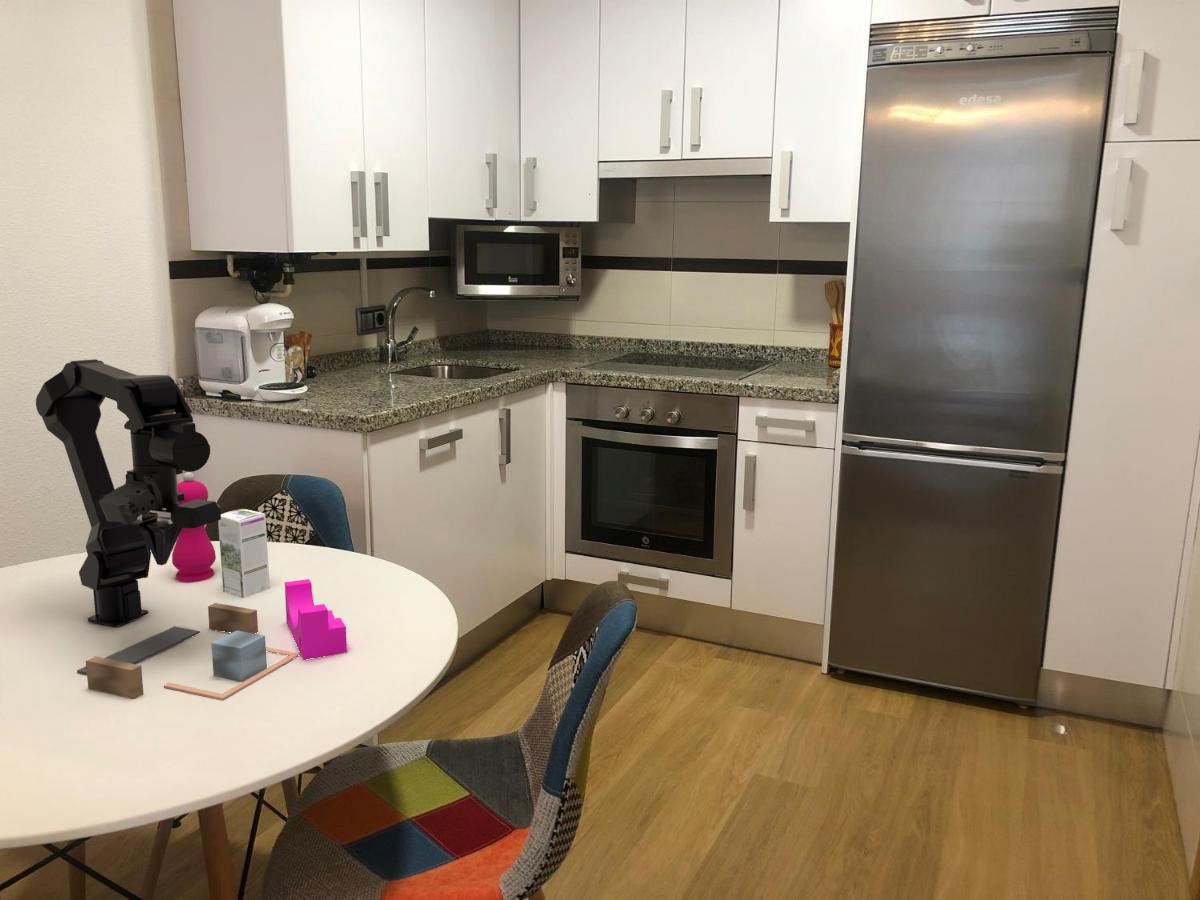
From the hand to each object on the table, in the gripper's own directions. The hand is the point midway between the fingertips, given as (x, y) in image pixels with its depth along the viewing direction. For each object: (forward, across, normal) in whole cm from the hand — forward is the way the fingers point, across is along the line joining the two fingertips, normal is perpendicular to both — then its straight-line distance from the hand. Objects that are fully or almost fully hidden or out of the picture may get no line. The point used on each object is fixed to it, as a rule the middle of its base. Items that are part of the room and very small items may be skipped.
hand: (161, 564), depth 146 cm
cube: (+12, +18, -5) cm, 22 cm away
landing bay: (+12, +16, -5) cm, 21 cm away
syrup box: (+12, -3, +21) cm, 24 cm away
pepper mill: (+12, -16, +23) cm, 31 cm away
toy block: (+12, +20, +9) cm, 25 cm away
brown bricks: (+12, +7, -5) cm, 15 cm away
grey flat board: (+12, 0, -5) cm, 13 cm away
